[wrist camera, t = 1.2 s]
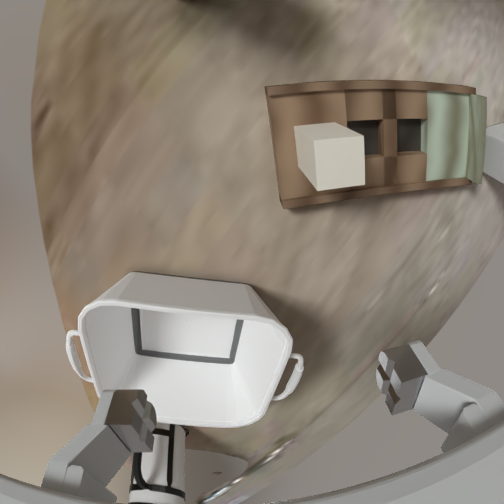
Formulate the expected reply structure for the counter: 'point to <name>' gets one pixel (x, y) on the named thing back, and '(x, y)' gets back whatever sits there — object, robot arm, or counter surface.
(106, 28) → the counter surface
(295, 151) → the box
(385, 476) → the robot arm
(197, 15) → the counter surface
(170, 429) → the coffee press
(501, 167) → the milk carton
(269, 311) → the tub
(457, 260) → the counter surface
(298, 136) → the cream block
